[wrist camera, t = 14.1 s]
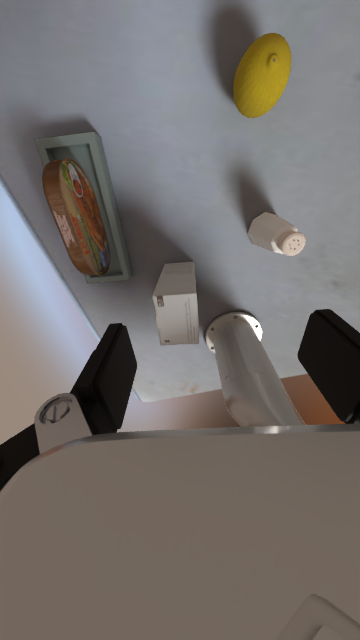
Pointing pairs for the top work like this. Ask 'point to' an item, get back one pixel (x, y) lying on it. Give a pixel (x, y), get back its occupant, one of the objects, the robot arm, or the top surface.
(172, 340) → the skincare box
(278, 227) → the pepper shaker
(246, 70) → the lemon
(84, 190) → the tin
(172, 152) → the top surface
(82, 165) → the tray
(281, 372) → the top surface
